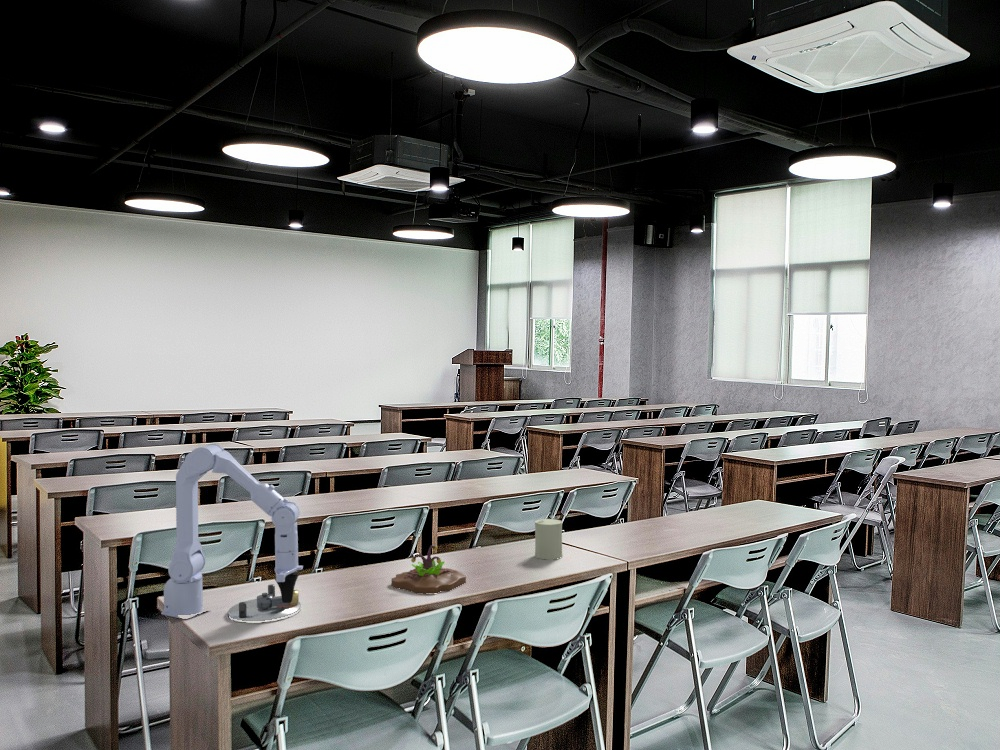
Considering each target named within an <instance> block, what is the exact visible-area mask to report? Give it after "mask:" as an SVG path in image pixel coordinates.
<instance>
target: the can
mask: <svg viewBox="0 0 1000 750" xmlns="http://www.w3.org/2000/svg"><path fill="white" fill-rule="evenodd" d="M534 534H535V535H534V537H535V539H534V540H535V541H534V542H535V544H534V545H535V547H534V549H535V551H534V553H535V554H534V557H535V558H536V559H538V558H539V560H544V559H546V560H547V559H549V560H548V561H551V560H550V559H554V560H558V559H557V558H559V559H561V558H560V557H562V558H563V557H564V554H563V521H562V520H560V519H556V518H542V519H537V520H535V521H534Z"/></svg>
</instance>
